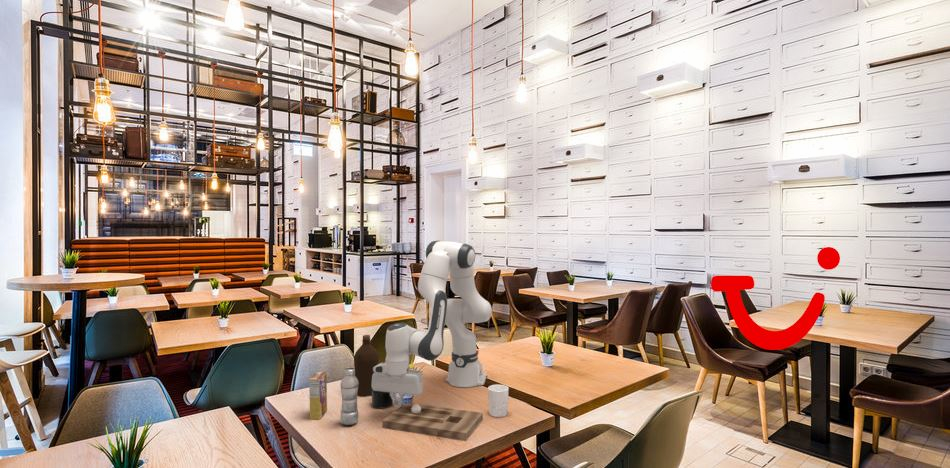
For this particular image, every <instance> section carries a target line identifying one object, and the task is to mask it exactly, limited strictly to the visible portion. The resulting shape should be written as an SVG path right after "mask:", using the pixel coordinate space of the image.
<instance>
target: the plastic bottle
mask: <svg viewBox="0 0 950 468" xmlns="http://www.w3.org/2000/svg"><path fill="white" fill-rule="evenodd" d="M343 370H344V372H343V375H344V376H343V378H342V379H341V381H340V390H341V391H340V392H341V399H342V400H341V409H340V410H341V411H340V415H339V418H340V422H341V425H344V426H352V425H355V424H356V423H358V421H359V414H360V413H359V408H358V395H357V392H358V385H359V382H358V380H357V378H356V377H355V369H354V367H345V368H344V369H343Z"/></svg>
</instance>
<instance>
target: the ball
mask: <svg viewBox="0 0 950 468" xmlns="http://www.w3.org/2000/svg"><path fill="white" fill-rule="evenodd" d="M414 404H415V405H413V406H412V408H411V411H412V413H413V414H419V413H420V412H421V407H420V405H421V404H420V405H418V403H414Z"/></svg>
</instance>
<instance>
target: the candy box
mask: <svg viewBox="0 0 950 468" xmlns="http://www.w3.org/2000/svg"><path fill="white" fill-rule="evenodd" d="M308 381H309V382H308V383H309V384H308V385H309V386H308V387H309V420H311V421H312V420H314V421H315V420H321V419H323V417H324V416H325V413H327V411H328V392H327V391H328V387H327V385H328V384H327V371H316V372H315V373H314V374H313V375H312V376H311V377H310V378H309V380H308Z"/></svg>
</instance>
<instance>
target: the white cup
mask: <svg viewBox="0 0 950 468" xmlns="http://www.w3.org/2000/svg"><path fill="white" fill-rule="evenodd" d="M487 395H488V396H487V397H488V406H489V409H488V410H489V411H488V412H489V415H490V416H492V417H494V418H503V417H506V416H507V415H508V407H509V406H508V405H509V386H507V385H505V384H492V385H489V386H488V387H487Z"/></svg>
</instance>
